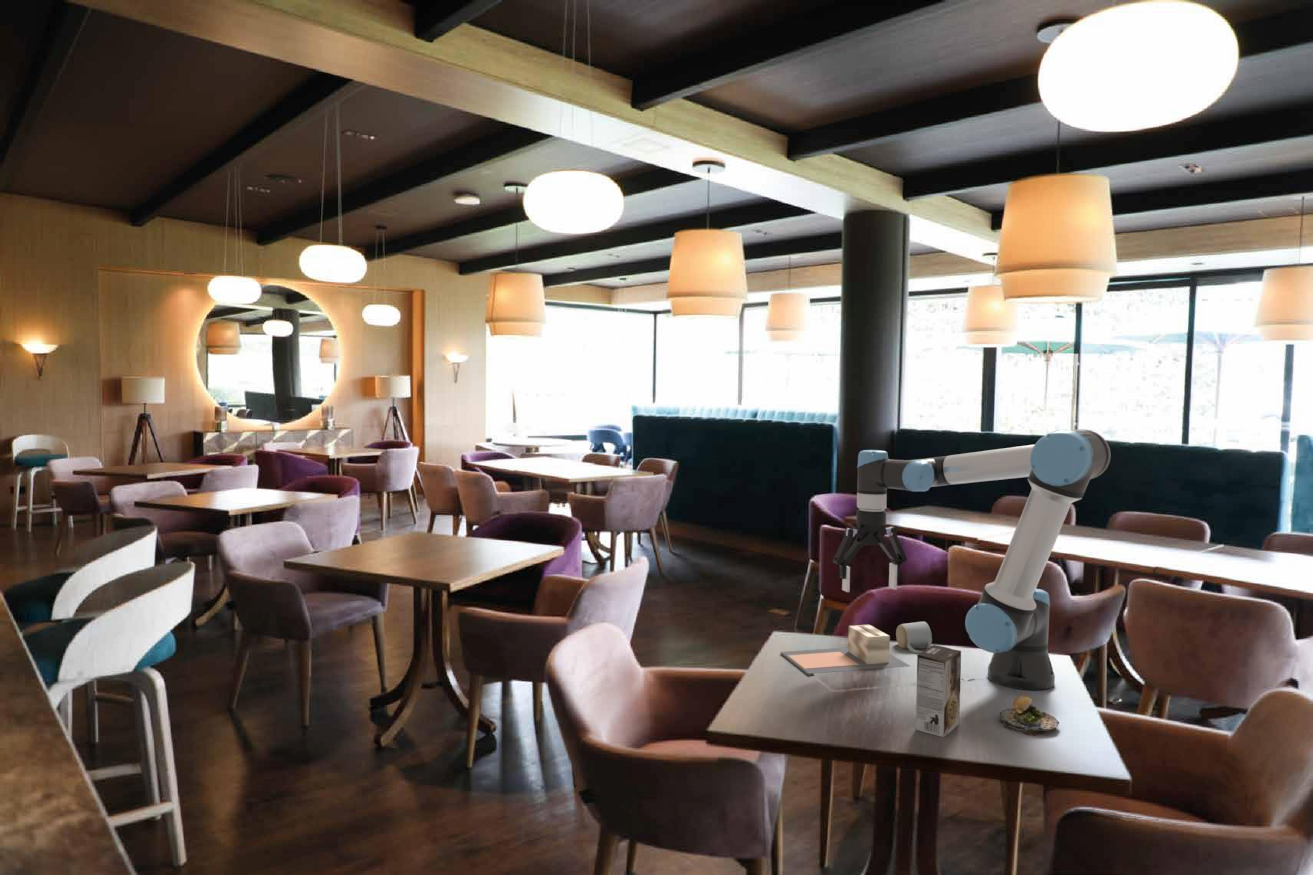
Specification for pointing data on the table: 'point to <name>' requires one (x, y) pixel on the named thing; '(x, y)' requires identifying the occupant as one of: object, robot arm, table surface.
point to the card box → (868, 644)
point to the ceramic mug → (914, 636)
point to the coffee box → (938, 690)
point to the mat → (834, 661)
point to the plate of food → (1026, 718)
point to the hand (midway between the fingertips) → (869, 589)
